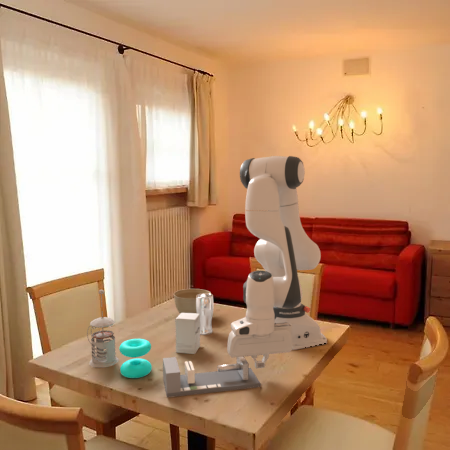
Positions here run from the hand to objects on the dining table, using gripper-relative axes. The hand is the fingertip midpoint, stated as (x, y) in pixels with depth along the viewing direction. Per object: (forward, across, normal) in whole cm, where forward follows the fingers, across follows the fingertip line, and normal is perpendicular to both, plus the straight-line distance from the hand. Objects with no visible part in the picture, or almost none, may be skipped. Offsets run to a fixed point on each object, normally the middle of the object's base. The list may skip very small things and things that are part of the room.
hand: (259, 367), depth 147 cm
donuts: (+4, +38, -13) cm, 40 cm away
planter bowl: (+4, +12, -63) cm, 64 cm away
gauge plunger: (+2, +9, 0) cm, 9 cm away
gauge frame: (+4, +16, 0) cm, 16 cm away
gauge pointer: (+1, +22, 0) cm, 22 cm away
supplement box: (+4, +18, -28) cm, 34 cm away
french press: (+4, +48, -25) cm, 55 cm away
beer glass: (+4, +10, -44) cm, 45 cm away
